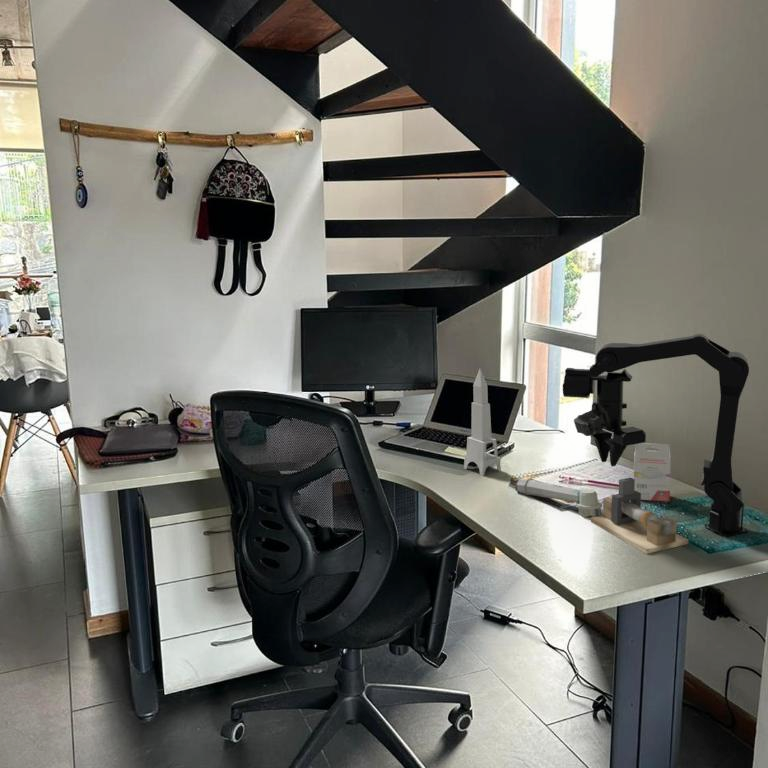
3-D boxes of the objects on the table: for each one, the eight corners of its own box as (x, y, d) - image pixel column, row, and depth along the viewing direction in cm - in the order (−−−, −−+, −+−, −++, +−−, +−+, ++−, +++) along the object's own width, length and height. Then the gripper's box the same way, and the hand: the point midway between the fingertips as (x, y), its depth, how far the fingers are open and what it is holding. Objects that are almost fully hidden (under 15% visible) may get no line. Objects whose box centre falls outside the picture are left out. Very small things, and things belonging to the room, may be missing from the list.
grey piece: (525, 475, 192) (605, 485, 171) (528, 499, 192) (607, 513, 172) (512, 479, 188) (591, 491, 168) (515, 504, 189) (594, 519, 169)
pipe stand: (629, 513, 172) (630, 489, 171) (688, 543, 155) (689, 517, 154) (590, 521, 169) (591, 497, 168) (646, 553, 151) (647, 526, 150)
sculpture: (482, 475, 204) (480, 371, 197) (463, 468, 210) (461, 367, 204) (500, 470, 207) (499, 367, 201) (482, 463, 214) (479, 364, 208)
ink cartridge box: (669, 495, 183) (671, 439, 179) (669, 502, 178) (671, 445, 175) (633, 492, 186) (635, 437, 183) (632, 499, 181) (634, 443, 178)
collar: (634, 516, 167) (635, 476, 165) (640, 519, 165) (641, 478, 163) (611, 521, 165) (612, 480, 163) (617, 524, 163) (617, 483, 161)
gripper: (556, 395, 172) (556, 458, 175) (606, 412, 154) (605, 481, 158) (595, 389, 175) (594, 451, 178) (648, 405, 158) (646, 473, 161)
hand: (608, 463), depth 169 cm, fingers open, 3 cm apart
